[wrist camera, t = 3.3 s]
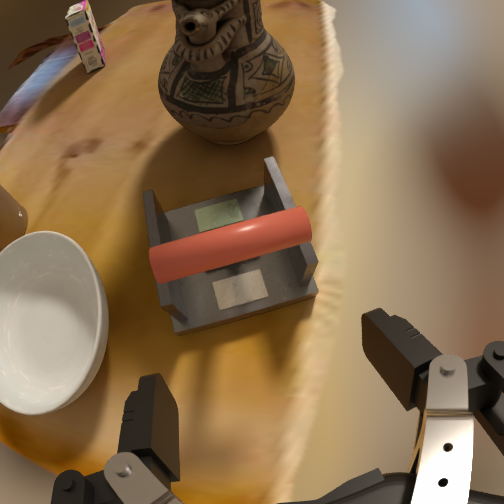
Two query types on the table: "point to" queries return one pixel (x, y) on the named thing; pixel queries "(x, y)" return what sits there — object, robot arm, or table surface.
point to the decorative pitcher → (224, 71)
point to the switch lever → (230, 244)
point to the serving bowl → (49, 323)
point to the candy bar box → (86, 36)
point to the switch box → (237, 274)
